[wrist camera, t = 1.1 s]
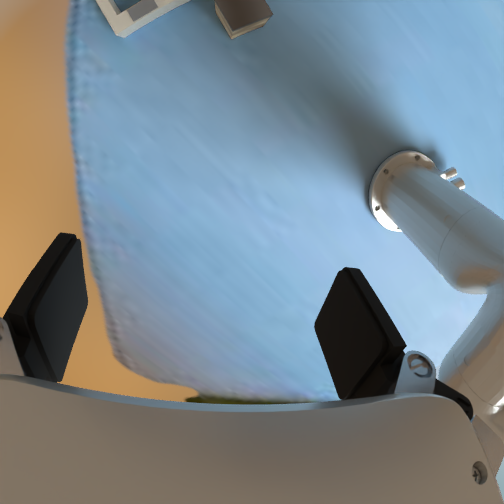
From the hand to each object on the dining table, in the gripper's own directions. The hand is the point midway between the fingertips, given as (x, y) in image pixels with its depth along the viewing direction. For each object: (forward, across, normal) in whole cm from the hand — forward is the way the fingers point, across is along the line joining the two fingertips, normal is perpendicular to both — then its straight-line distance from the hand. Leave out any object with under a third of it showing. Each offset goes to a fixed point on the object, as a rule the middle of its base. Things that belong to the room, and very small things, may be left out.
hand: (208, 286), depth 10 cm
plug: (+28, 0, -15) cm, 32 cm away
